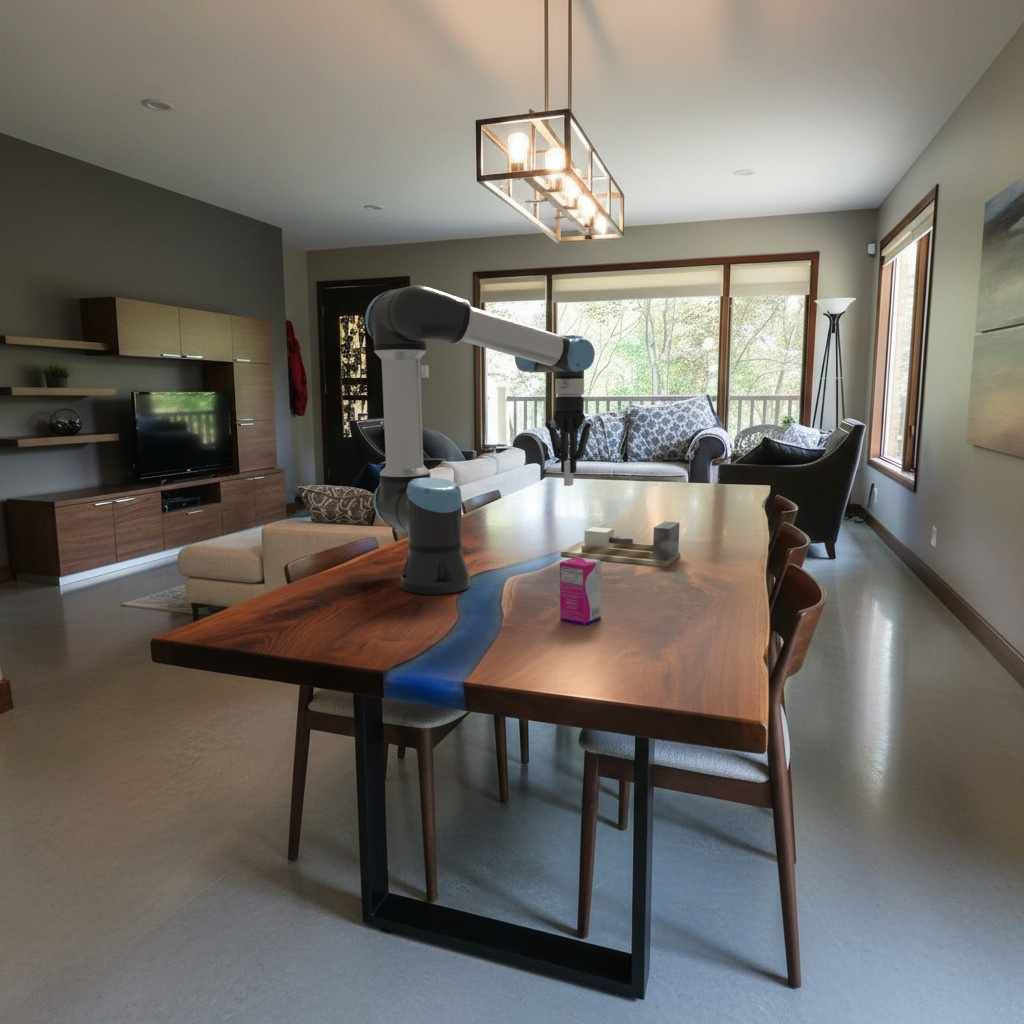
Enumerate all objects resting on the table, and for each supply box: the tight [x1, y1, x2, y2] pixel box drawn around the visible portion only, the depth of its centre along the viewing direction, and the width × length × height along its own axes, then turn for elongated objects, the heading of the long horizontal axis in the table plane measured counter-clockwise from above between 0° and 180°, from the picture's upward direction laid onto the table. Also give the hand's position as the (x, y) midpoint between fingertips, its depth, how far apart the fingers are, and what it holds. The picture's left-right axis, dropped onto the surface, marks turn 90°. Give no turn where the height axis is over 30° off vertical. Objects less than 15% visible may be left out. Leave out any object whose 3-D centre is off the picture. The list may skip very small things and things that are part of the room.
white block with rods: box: [583, 526, 634, 548], centre depth 200 cm, size 12×10×5 cm
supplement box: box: [559, 557, 602, 627], centre depth 142 cm, size 6×6×12 cm
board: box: [560, 521, 681, 568], centre depth 197 cm, size 28×14×9 cm, turn 64°
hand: (568, 485), depth 201 cm, fingers closed
